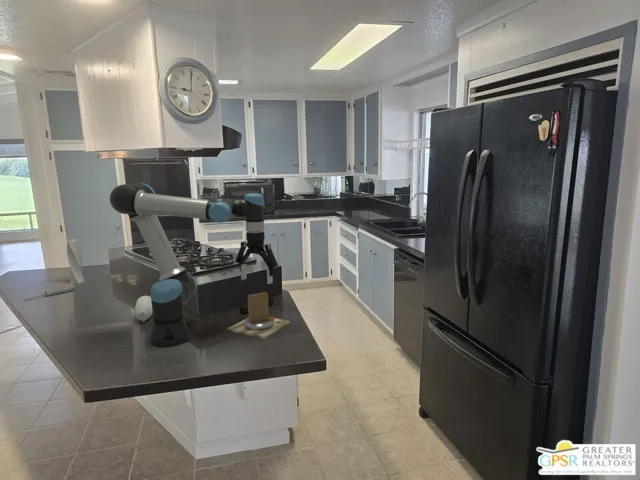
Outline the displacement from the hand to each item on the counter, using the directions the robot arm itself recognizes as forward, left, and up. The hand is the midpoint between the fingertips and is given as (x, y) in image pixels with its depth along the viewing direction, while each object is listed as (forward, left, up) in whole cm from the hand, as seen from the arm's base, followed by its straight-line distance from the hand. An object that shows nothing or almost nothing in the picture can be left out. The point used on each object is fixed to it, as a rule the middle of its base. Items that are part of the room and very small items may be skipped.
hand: (256, 281), depth 180 cm
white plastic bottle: (-54, -14, -21) cm, 60 cm away
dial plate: (0, 0, -20) cm, 20 cm away
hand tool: (-15, +19, -21) cm, 32 cm away
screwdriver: (-130, -15, -21) cm, 132 cm away
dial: (0, 0, -19) cm, 19 cm away
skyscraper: (-142, +8, -21) cm, 144 cm away
